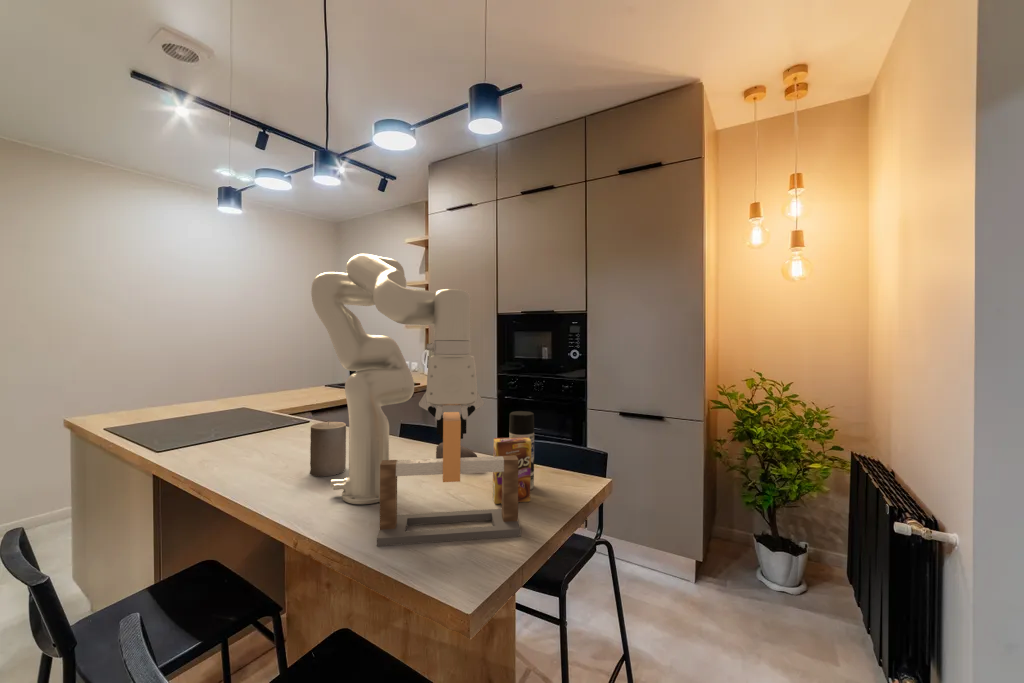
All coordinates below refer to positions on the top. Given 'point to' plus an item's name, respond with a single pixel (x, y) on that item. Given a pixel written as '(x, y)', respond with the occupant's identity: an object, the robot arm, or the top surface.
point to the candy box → (523, 453)
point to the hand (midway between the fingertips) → (451, 436)
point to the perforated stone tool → (463, 452)
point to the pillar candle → (328, 448)
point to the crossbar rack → (396, 524)
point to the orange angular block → (451, 446)
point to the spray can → (523, 432)
